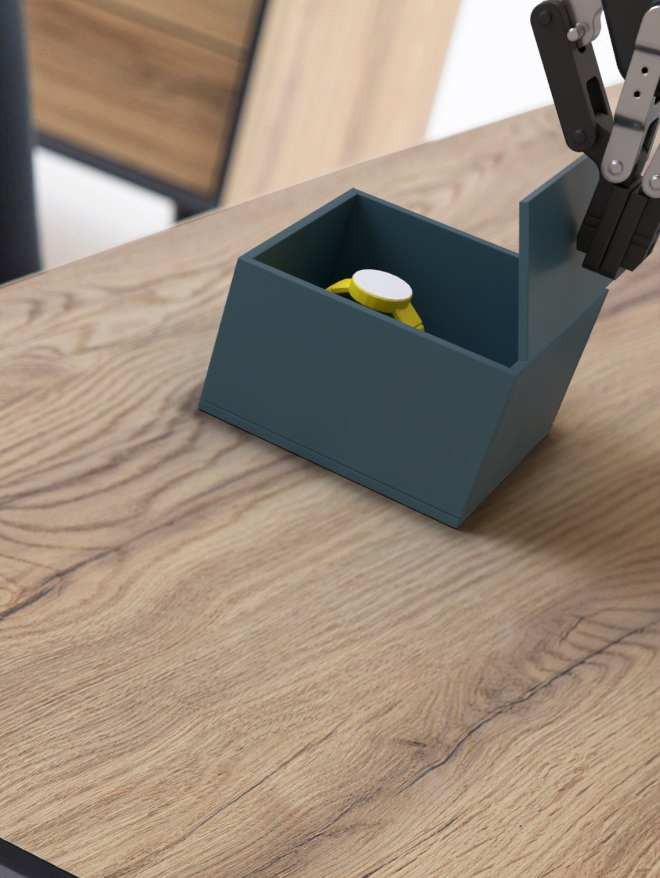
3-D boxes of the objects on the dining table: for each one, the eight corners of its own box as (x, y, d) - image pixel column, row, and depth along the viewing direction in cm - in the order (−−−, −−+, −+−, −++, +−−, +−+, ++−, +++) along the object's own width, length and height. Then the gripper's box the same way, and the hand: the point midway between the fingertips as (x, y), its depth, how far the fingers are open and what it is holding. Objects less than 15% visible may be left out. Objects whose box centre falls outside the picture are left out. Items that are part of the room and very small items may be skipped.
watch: (272, 380, 81) (307, 264, 78) (301, 363, 83) (336, 248, 79) (383, 435, 79) (425, 317, 75) (411, 415, 81) (452, 300, 77)
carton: (549, 432, 83) (609, 289, 78) (456, 529, 74) (517, 376, 70) (309, 327, 87) (352, 187, 83) (196, 408, 79) (237, 257, 74)
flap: (610, 275, 78) (619, 275, 77) (518, 360, 69) (527, 361, 69) (614, 130, 75) (623, 130, 75) (518, 201, 67) (529, 201, 66)
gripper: (1000, -142, 61) (781, 302, 72) (643, -242, 66) (488, 189, 77) (966, -114, 56) (735, 360, 67) (581, -225, 61) (424, 235, 71)
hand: (603, 268), depth 72 cm, fingers closed
